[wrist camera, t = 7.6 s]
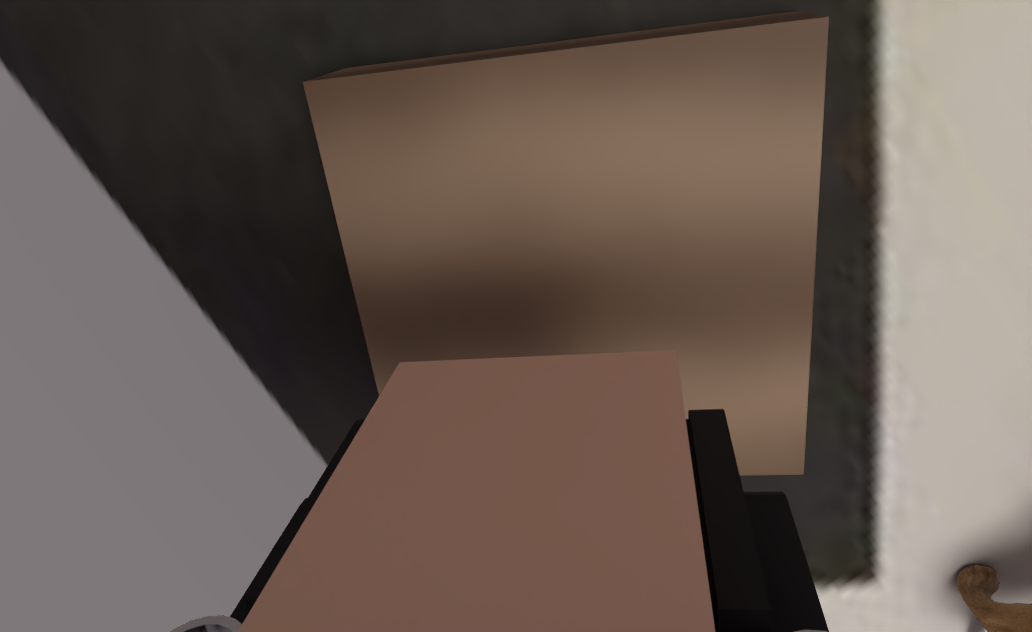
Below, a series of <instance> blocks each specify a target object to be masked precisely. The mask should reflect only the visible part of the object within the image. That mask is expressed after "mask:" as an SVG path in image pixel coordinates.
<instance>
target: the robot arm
mask: <svg viewBox="0 0 1032 632" xmlns="http://www.w3.org/2000/svg"><path fill="white" fill-rule="evenodd" d="M364 421H365V420H357V421H356V422H355V423H354V425H353V426H352V428H351V430H350V431H349V433H348V434H347V436H346V438H345V439H344V441H343V442H342V444H341V446H340V447H339V449H338V450H337V452H336V454H335V455H334V457H333V458H332V460H331V462H330V463H329V465H328V467H327V468H326V470H325V471H324V473H323V475H322V476H321V478H320V479H319V481H318V483H317V484H316V486H315V488H314V489H313V491H312V492H311V494H310V496H309V497H308V498H306V499H305V500H304V501H303V503H302V504H301V505H300V506H299V508H298V509H297V511H296V512H295V514H294V516H293V517H292V519H291V520H290V522H289V524H288V526H287V527H286V528H285V530H284V532H283V533H282V535H281V536H280V538H279V539H278V541H277V543H276V544H275V546H274V548H273V549H272V551H271V552H270V554H269V555H268V557H267V559H266V560H265V562H264V564H263V565H262V567H261V568H260V570H259V572H258V573H257V575H256V576H255V578H254V579H253V581H252V582H251V584H250V586H249V587H248V589H247V591H246V592H245V594H244V596H243V597H242V599H241V600H240V602H239V603H238V605H237V607H236V608H235V610H234V611H233V613H232V614H231V616H230V617H227V616H224V615H219V616H206V617H202V618H199V619H195V620H192V621H189V622H187V623H186V624H183V625H181V626H179V627H177V628H175V629H173V630H172V631H171V632H238V630H239V629H240V627H241V625H242V624H243V622H244V620H245V619H246V617H247V615H248V614H249V612H250V610H251V609H252V607H253V605H254V604H255V602H256V600H257V599H258V597H259V595H260V594H261V592H262V590H263V589H264V587H265V585H266V584H267V582H268V580H269V579H270V577H271V575H272V574H273V572H274V570H275V569H276V567H277V565H278V564H279V562H280V560H281V559H282V557H283V556H284V554H285V552H286V551H287V549H288V547H289V546H290V544H291V542H292V541H293V539H294V537H295V536H296V534H297V532H298V531H299V529H300V527H301V526H302V524H303V522H304V521H305V519H306V517H307V516H308V514H309V512H310V511H311V509H312V507H313V506H314V504H315V502H316V501H317V499H318V497H319V496H320V494H321V492H322V491H323V489H324V487H325V486H326V484H327V482H328V481H329V479H330V477H331V476H332V474H333V472H334V471H335V469H336V467H337V466H338V464H339V462H340V461H341V459H342V457H343V456H344V454H345V452H346V451H347V449H348V447H349V446H350V444H351V442H352V441H353V439H354V437H355V436H356V434H357V432H358V431H359V429H360V427H361V426H362V424H363V422H364ZM686 425H687V432H688V440H689V447H690V454H691V461H692V468H693V475H694V482H695V490H696V497H697V504H698V511H699V518H700V525H701V532H702V540H703V547H704V554H705V561H706V568H707V575H708V583H709V590H710V597H711V604H712V611H713V618H714V625H715V632H829V630H828V627H827V624H826V621H825V618H824V614H823V611H822V608H821V605H820V602H819V599H818V595H817V592H816V589H815V586H814V583H813V579H812V576H811V573H810V570H809V567H808V564H807V560H806V557H805V554H804V551H803V548H802V545H801V541H800V538H799V535H798V532H797V529H796V526H795V522H794V519H793V516H792V513H791V510H790V507H789V503H788V500H787V498H786V495H785V494H784V493H783V492H743V488H742V484H741V479H740V475H739V471H738V466H737V462H736V458H735V454H734V449H733V445H732V441H731V436H730V432H729V428H728V424H727V419H726V415H725V411H724V409H702V410H689V411H688V419H686Z"/></svg>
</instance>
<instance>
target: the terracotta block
mask: <svg viewBox="0 0 1032 632" xmlns="http://www.w3.org/2000/svg"><path fill="white" fill-rule="evenodd" d="M238 632H715V625H714V618H713V611H712V604H711V597H710V590H709V583H708V575H707V568H706V561H705V554H704V547H703V540H702V532H701V525H700V518H699V511H698V504H697V497H696V490H695V482H694V475H693V468H692V461H691V454H690V447H689V440H688V432H687V425H686V418H685V411H684V404H683V397H682V389H681V382H680V375H679V368H678V361H677V354H676V350H667V351H644V352H621V353H599V354H576V355H553V356H531V357H508V358H485V359H463V360H440V361H417V362H400V363H399V364H398V366H397V368H396V369H395V371H394V373H393V374H392V376H391V378H390V379H389V381H388V383H387V384H386V386H385V387H384V389H383V391H382V392H381V394H380V396H379V397H378V399H377V401H376V402H375V404H374V406H373V407H372V409H371V411H370V412H369V414H368V416H367V417H366V419H365V421H364V422H363V424H362V426H361V427H360V429H359V431H358V432H357V434H356V436H355V437H354V439H353V441H352V442H351V444H350V446H349V447H348V449H347V451H346V452H345V454H344V456H343V457H342V459H341V461H340V462H339V464H338V466H337V467H336V469H335V471H334V472H333V474H332V476H331V477H330V479H329V481H328V482H327V484H326V486H325V487H324V489H323V491H322V492H321V494H320V496H319V497H318V499H317V501H316V502H315V504H314V506H313V507H312V509H311V511H310V512H309V514H308V516H307V517H306V519H305V521H304V522H303V524H302V526H301V527H300V529H299V531H298V532H297V534H296V536H295V537H294V539H293V541H292V542H291V544H290V546H289V547H288V549H287V551H286V552H285V554H284V556H283V557H282V559H281V560H280V562H279V564H278V565H277V567H276V569H275V570H274V572H273V574H272V575H271V577H270V579H269V580H268V582H267V584H266V585H265V587H264V589H263V590H262V592H261V594H260V595H259V597H258V599H257V600H256V602H255V604H254V605H253V607H252V609H251V610H250V612H249V614H248V615H247V617H246V619H245V620H244V622H243V624H242V625H241V627H240V629H239V630H238Z"/></svg>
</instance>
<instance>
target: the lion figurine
mask: <svg viewBox="0 0 1032 632" xmlns="http://www.w3.org/2000/svg"><path fill="white" fill-rule="evenodd" d="M999 584H1000V582H999V579H998V577H997V573H996V571H995V570H994V569H992V568H991V567H985V566H982V565H971V566H967V567H965V568H964V569H963V570H961V571H960V573H959V575H958V576H957V586H958V589H959V591H960V593H961V595H962V597H963V599H964V601H965V602H966V604H967V605H968V606H969V608H970V609H971V611H972V612H973V613H974V614H975V616H976V617H977V618H978V620H979V621H980V622H981V624H982V625H983V626H984V627H985V629H986V630H987V631H988V632H1032V603H1031V604H1024V603H1013V604H1006V603H998V602H994V601H993V600H992V599H991V596H992V594H994V593H995V592H996V591H997V589H998V588H999Z"/></svg>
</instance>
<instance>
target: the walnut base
mask: <svg viewBox="0 0 1032 632" xmlns="http://www.w3.org/2000/svg"><path fill="white" fill-rule="evenodd" d="M828 24H829V17H828V16H822V15H817V14H811V13H806V12H800V11H793V12H785V13H777V14H770V15H762V16H754V17H746V18H738V19H730V20H722V21H714V22H706V23H698V24H690V25H682V26H674V27H667V28H659V29H651V30H643V31H635V32H627V33H619V34H611V35H603V36H595V37H587V38H579V39H572V40H564V41H556V42H548V43H540V44H532V45H524V46H516V47H508V48H500V49H492V50H484V51H476V52H469V53H461V54H453V55H445V56H437V57H429V58H421V59H413V60H405V61H397V62H389V63H381V64H373V65H366V66H358V67H350V68H345V69H342V70H338V71H335V72H332V73H329V74H326V75H323V76H320V77H317V78H313V79H310V80H307V81H304V82H303V85H304V89H305V93H306V97H307V101H308V106H309V110H310V114H311V118H312V122H313V126H314V130H315V134H316V139H317V143H318V147H319V151H320V155H321V159H322V163H323V167H324V171H325V176H326V180H327V184H328V188H329V192H330V196H331V200H332V204H333V208H334V213H335V217H336V221H337V225H338V229H339V233H340V237H341V241H342V246H343V250H344V254H345V258H346V262H347V266H348V270H349V274H350V278H351V283H352V287H353V291H354V295H355V299H356V303H357V307H358V311H359V316H360V320H361V324H362V328H363V332H364V336H365V340H366V344H367V348H368V353H369V357H370V361H371V365H372V369H373V373H374V377H375V381H376V385H377V390H378V394H379V396H380V394H381V392H382V391H383V389H384V387H385V386H386V384H387V383H388V381H389V379H390V378H391V376H392V374H393V373H394V371H395V369H396V368H397V366H398V364H399V363H400V362H417V361H440V360H463V359H485V358H508V357H531V356H553V355H576V354H599V353H621V352H644V351H667V350H676V354H677V361H678V368H679V375H680V382H681V389H682V397H683V404H684V411H685V418H686V419H688V411H689V410H702V409H724V411H725V415H726V419H727V424H728V428H729V432H730V436H731V441H732V445H733V449H734V454H735V458H736V462H737V466H738V471H739V475H798V474H804V457H805V439H806V421H807V403H808V385H809V367H810V349H811V330H812V312H813V294H814V276H815V258H816V240H817V222H818V204H819V186H820V168H821V150H822V132H823V114H824V96H825V78H826V60H827V42H828Z"/></svg>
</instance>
